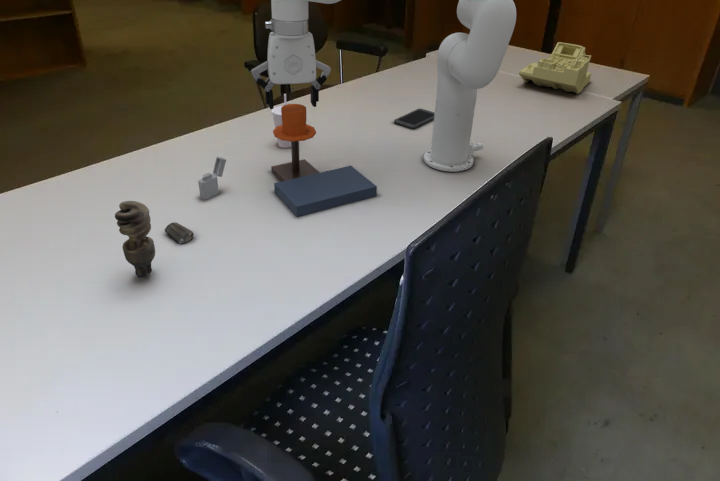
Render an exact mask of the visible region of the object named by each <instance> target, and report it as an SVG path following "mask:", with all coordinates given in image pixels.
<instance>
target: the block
mask: <svg viewBox="0 0 720 481" xmlns="http://www.w3.org/2000/svg"><path fill="white" fill-rule="evenodd" d="M164 232H165V233H166V234H167V235H168V236H169V237H170V238H172V240H174V241H175V242H176V243H177V244H185V243H188V242H190V241H192V239H193V237H194V232H193V231H192V230H191V229H189V228H187V227H185V226H183V225H182V224H181V223H179V222H176V221H175V222H170V223H169V224H168V225H167V226H166V227H165V228H164Z"/></svg>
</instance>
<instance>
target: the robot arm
mask: <svg viewBox="0 0 720 481" xmlns="http://www.w3.org/2000/svg"><path fill="white" fill-rule="evenodd" d="M309 2H312V3H320V4H325V5H330V4H331V5H332V4H336V3H338V2H341V0H270V4H271V5H270V6H271V19H270V20H268V21H265V22H264V27H265V29H269V30H271V31H270V32H269V35H268V41H267V57H266V58H267V60H266V61H264V62H262V63H260V64H259V65H257V66H255V67H253V68H251V70H250V72H251V75H252V76H253V79H254V80H255V81H256V83H257V85H259V86H260V87H261V88H262V89H263V90H264V95H265V105H266V106H267V105H268V107H269V110H272V109H273V108H275V107H274V92H273V90H272V89H273V88H274V86H275V85H295V84H311V85H310V104H311V105H312V107H313V108H317V103H318V102H320V89H321V87H322V85H324V84H325V83H326V81H327V79H328V77H329V75H330V73H331V71H332V68H331V67H330V66H329V65H327V64H325V63H323V62H321V61H319V60H317V59H316V48H315V40H314V36H313V33H312V32H310V30H309ZM456 17H457V19H458V21H459V22H460V24H462V25H463V26H464V27H465V28H466V29H468V30H469V33H466V32H454V33H451V34H450V35H449V34H448V35H447V36H446V37H445V38H444V39H443V40H442V42H441V43H440V45H439V47H438V51H437V54H436V56H437V57H436V69H437V84H436V95H435V96H436V98H435V106H434V113H435V114H434V119H433V125H432V133H431V143H430V144H431V145H430V149H429V150H426V151H425V152H424V155H423V161H424V163H425V164H426V165H427V166H429V167H431V168H433V169H435V170H439V171H442V172H451V173H453V172H454V173H455V172H463V171H467V170H468V169H470V168H471V167H473V165H474V156H473V155H472V154H473V153H475V152H477V151H482V150H483V149H484V145H483V143H482V142H476V143H473V141H472V140H471V137H472V131H473V122H474V118H475V110H476V109H475V108H476V103H477V95H478V94H477V93H478V90H480V89H483V88H486V87H487V86H489V85H490V84H491V82H493V80H494V79H495V77H496V76H497V74H498V72H499V70H500V68H501V65H502V63H503V60H504V57H505V55H506V52H507V49H508V46H509V45H510V41H511V39H512V36H513V33H514V30H515V26H516V22H517V8H516V4H515V2H514V0H458V2H457V7H456ZM317 69H318V70H321V74H320V75H319V76H318V77H317ZM265 71H267V75H268V77H267V78H266V80H264V79H263V78H262V77H261V73H263V72H265Z"/></svg>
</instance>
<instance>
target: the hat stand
mask: <svg viewBox="0 0 720 481" xmlns="http://www.w3.org/2000/svg"><path fill="white" fill-rule="evenodd" d="M290 149H291V151H290V152H291V162H286V163H280V164H277V165H271V167H270V170H271V173H272V174H273V175H274V176H275V177H276V178H277V180H279V182H281V181H286V180H290V179H294V178H299V177H303V176H307V175H312V174H316V173H320V172H321V171H319V170H318V169H317V168H315V167H314V165H312V164H311V163H310V162H308V160H306V159H305V158H303V159H300V141H295V142H291V147H290Z"/></svg>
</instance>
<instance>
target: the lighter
mask: <svg viewBox="0 0 720 481" xmlns="http://www.w3.org/2000/svg"><path fill="white" fill-rule="evenodd" d="M226 164H227V159H226V158H225V157H222V156H216V157H215V162H214V166H213V170H212V173H211V172H207V173H204V174H202V178H200V179H198V180H197V183H198V190H199V191H198V192H199V198H200V199H202V200H204V201H206V200H209V199H211V198H213V197H216V196H217V195H219V194H220V190H219V181H218V177H220V178H222V177H223V174H224V170H225V166H226Z"/></svg>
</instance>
